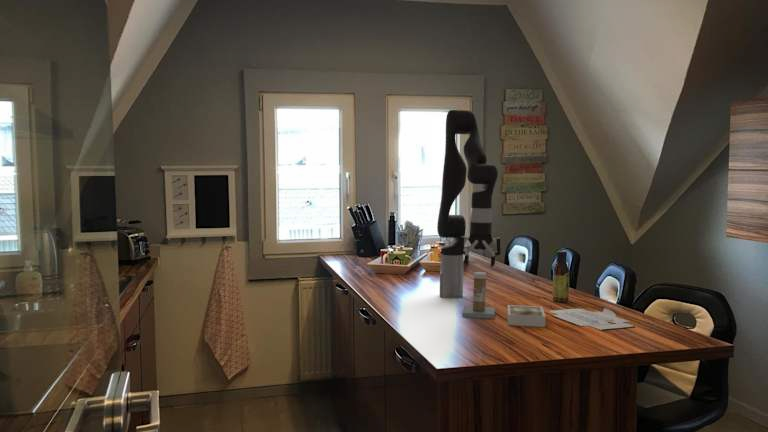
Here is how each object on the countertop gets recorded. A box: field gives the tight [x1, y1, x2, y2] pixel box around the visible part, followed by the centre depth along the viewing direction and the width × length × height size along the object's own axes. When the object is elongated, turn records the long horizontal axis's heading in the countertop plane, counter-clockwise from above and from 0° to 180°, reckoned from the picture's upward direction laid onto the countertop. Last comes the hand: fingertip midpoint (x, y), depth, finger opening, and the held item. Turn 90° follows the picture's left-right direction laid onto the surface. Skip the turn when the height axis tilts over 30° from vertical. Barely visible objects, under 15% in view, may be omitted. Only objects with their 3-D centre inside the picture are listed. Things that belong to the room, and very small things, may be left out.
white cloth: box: [549, 307, 634, 331], centre depth 210 cm, size 20×28×4 cm
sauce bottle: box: [552, 250, 570, 303], centre depth 239 cm, size 7×6×20 cm
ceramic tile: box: [462, 305, 496, 319], centre depth 216 cm, size 11×11×2 cm
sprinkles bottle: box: [472, 271, 487, 311], centre depth 215 cm, size 5×5×14 cm
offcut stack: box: [513, 308, 538, 316], centre depth 203 cm, size 9×5×5 cm, turn 80°
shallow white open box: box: [506, 304, 547, 328], centre depth 207 cm, size 12×15×4 cm
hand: (479, 266), depth 215 cm, fingers open, 8 cm apart
